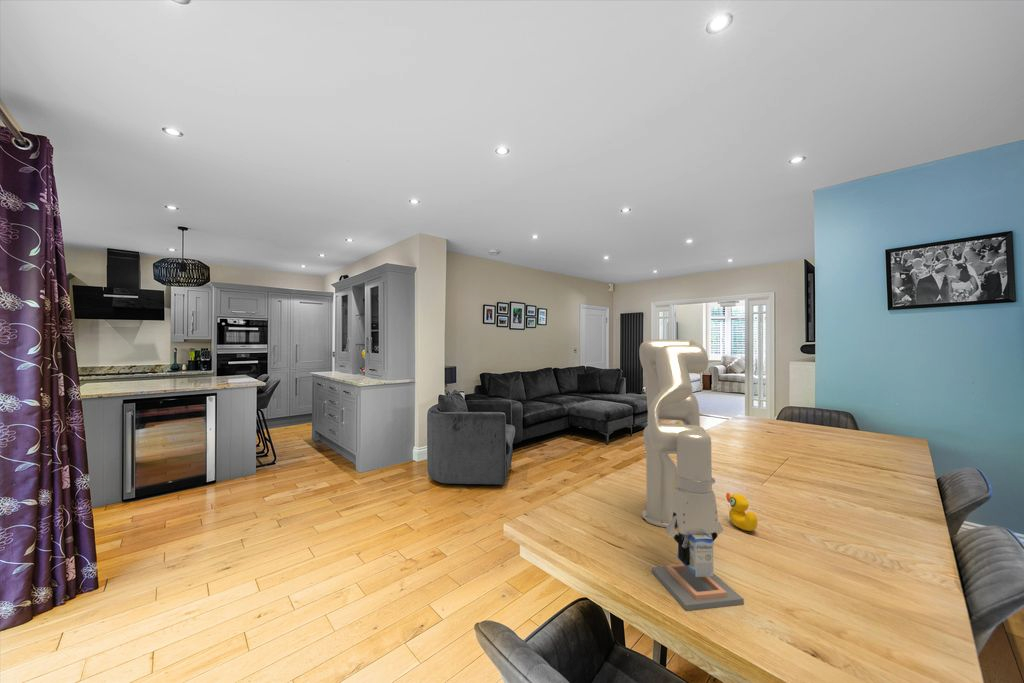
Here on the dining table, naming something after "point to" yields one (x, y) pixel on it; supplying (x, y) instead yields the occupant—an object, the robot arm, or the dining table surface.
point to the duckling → (741, 513)
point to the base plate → (696, 588)
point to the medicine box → (700, 555)
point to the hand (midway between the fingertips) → (694, 560)
